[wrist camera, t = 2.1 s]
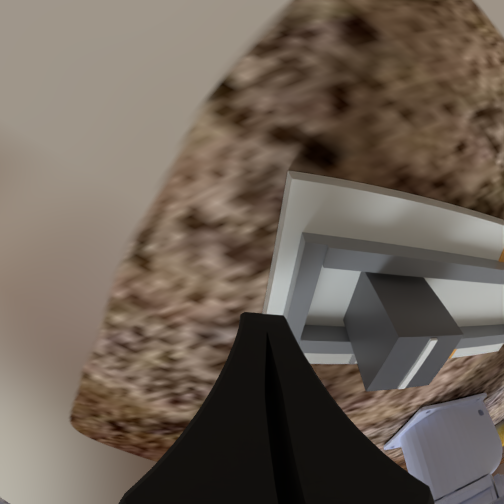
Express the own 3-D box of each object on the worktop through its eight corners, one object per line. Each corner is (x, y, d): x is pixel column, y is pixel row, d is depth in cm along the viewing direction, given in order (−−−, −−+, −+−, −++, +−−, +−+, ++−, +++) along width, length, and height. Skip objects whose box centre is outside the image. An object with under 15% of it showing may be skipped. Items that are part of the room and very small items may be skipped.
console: (545, 235, 12) (565, 251, 10) (491, 340, 16) (504, 360, 14) (287, 170, 11) (296, 187, 9) (256, 343, 15) (256, 376, 13)
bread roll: (508, 412, 26) (517, 431, 23) (522, 411, 28) (530, 427, 25) (470, 442, 30) (477, 461, 26) (489, 439, 32) (495, 455, 28)
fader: (420, 273, 12) (465, 336, 8) (397, 321, 13) (429, 386, 9) (362, 267, 12) (400, 339, 8) (342, 319, 13) (366, 393, 9)
